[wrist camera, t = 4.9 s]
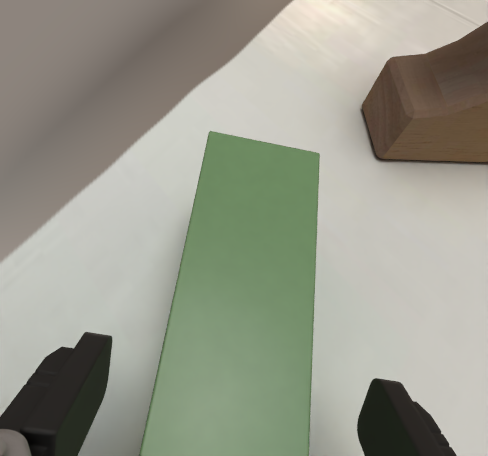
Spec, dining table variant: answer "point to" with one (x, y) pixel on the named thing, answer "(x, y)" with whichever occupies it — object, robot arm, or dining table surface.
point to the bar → (241, 309)
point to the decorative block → (433, 103)
